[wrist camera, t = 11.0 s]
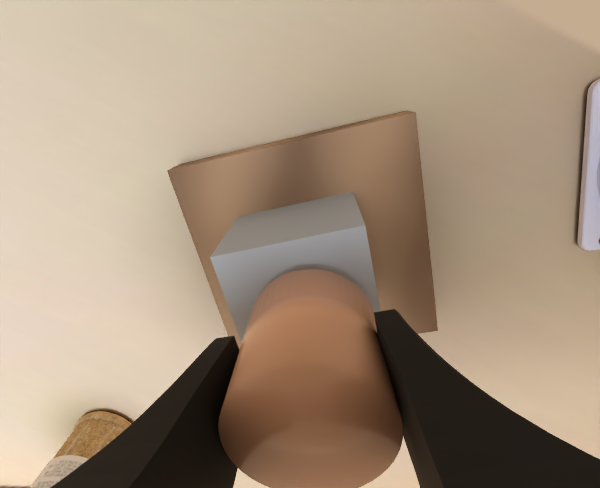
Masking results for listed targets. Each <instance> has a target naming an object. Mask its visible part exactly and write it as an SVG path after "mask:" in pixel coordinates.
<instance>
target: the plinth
mask: <svg viewBox="0 0 600 488" xmlns="http://www.w3.org/2000/svg"><path fill="white" fill-rule="evenodd" d="M168 174H169V177H170V180H171V182H172V185H173V188H174V190H175V193H176V196H177V198H178V201H179V204H180V207H181V209H182V212H183V215H184V217H185V220H186V223H187V225H188V228H189V231H190V233H191V236H192V239H193V242H194V244H195V247H196V250H197V252H198V255H199V258H200V260H201V263H202V266H203V269H204V271H205V274H206V277H207V279H208V282H209V285H210V287H211V290H212V293H213V296H214V298H215V301H216V304H217V306H218V309H219V312H220V314H221V317H222V320H223V323H224V325H225V328H226V331H227V333H228V336H235V339H236V342H237V345H238V347H239V350H240V347H241V344H242V343H241V340H240V337H239V335H238V332H237V329H236V327H235V324H234V321H233V318H232V316H231V313H230V310H229V308H228V305H227V302H226V299H225V297H224V294H223V291H222V289H221V286H220V283H219V280H218V278H217V275H216V272H215V270H214V267H213V264H212V261H211V259H210V257H211V255H212V254H213V252H214V251H215V249H216V248H217V246H218V245H219V243H220V242H221V240H222V239H223V237H224V236H225V234H226V233H227V231H228V230H229V228H230V227H231V225H232V224H233V222H234V221H235V219H236V218H237V217H240V216H244V215H249V214H253V213H258V212H262V211H267V210H271V209H276V208H280V207H285V206H290V205H294V204H299V203H303V202H308V201H312V200H317V199H321V198H326V197H330V196H335V195H339V194H344V193H348V192H353V193H354V196H355V199H356V202H357V204H358V207H359V210H360V212H361V215H362V218H363V221H364V223H365V227H366V232H367V238H368V243H369V249H370V254H371V260H372V265H373V271H374V276H375V282H376V287H377V293H378V298H379V304H380V309H381V311H385V310H391V309H395V310H397V311H398V312H399V313H400V314H401V316H402V317H403V318H404V320H405V321H406V322H407V323H408V324H409V325H410V327H411V328H412V329H413V330H414V331H415V332H416V333H417V334H419V333H425V332H431V331H438V328H437V318H436V309H435V299H434V289H433V279H432V270H431V260H430V250H429V240H428V230H427V221H426V211H425V201H424V191H423V181H422V172H421V162H420V152H419V142H418V132H417V123H416V113H415V112H410V111H404V112H399V113H395V114H391V115H387V116H383V117H378V118H374V119H370V120H366V121H361V122H357V123H353V124H349V125H344V126H340V127H336V128H332V129H328V130H323V131H319V132H315V133H311V134H306V135H302V136H298V137H294V138H289V139H285V140H281V141H277V142H273V143H268V144H264V145H260V146H256V147H251V148H247V149H243V150H239V151H234V152H230V153H226V154H222V155H218V156H213V157H209V158H205V159H201V160H196V161H192V162H188V163H184V164H180V165H178V166H176V167H174V168H172V169H170V170H168Z"/></svg>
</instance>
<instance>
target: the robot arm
mask: <svg viewBox="0 0 600 488" xmlns="http://www.w3.org/2000/svg"><path fill="white" fill-rule="evenodd" d="M599 238H600V79H598V80H596V81H595V82H593V83H592V84H591V86H590V87H589V89H588V93H587V108H586V122H585V137H584V152H583V167H582V182H581V196H580V211H579V226H578V241H577V242H578V245H579V246H580V247H581V248H582V249H584V250H587V251H594V250H599V249H600V241H599ZM598 241H599V242H598ZM374 317H375V323H376V328H377V333H378V337H379V341H380V345H381V349H382V353H383V357H384V360H385V363H386V366H387V369H388V372H389V376H390V379H391V382H392V386H393V389H394V393H395V397H396V401H397V405H398V408H399V412H400V416H401V420H402V426H403V436H404V439H405V442H406V445H407V448H408V451H409V454H410V457H411V460H412V463H413V466H414V469H415V472H416V475H417V478H418V481H419V485H420V488H600V459H598V458H596V457H593V456H592V455H590V454H588V453H586V452H584V451H582V450H580V449H578V448H576V447H574V446H572V445H570V444H569V443H567V442H565V441H563V440H561V439H559V438H557V437H555V436H554V435H552V434H550V433H548V432H547V431H545V430H543V429H542V428H540V427H538V426H537V425H535V424H533V423H532V422H530V421H528V420H527V419H525V418H523V417H522V416H520V415H518V414H517V413H515V412H513V411H512V410H510V409H509V408H507V407H506V406H504V405H503V404H501V403H500V402H498V401H497V400H495V399H494V398H492V397H491V396H489V395H488V394H487V393H485V392H484V391H483V390H481V389H480V388H478V387H477V386H476V385H474V384H473V383H472V382H470V381H469V380H468V379H467V378H465V377H464V376H463V375H462V374H460V373H459V372H458V371H457V370H455V369H454V368H453V367H452V366H451V365H450V364H448V363H447V362H446V361H445V360H444V359H443V358H442V357H440V356H439V355H438V354H437V353H436V352H435V351H434V350H433V349H432V348H431V347H430V346H429V345H428V344H427V343H426V342H425V341H424V340H423V339H422V338H421V337H420V336H419V335H418V334H417V333H416V332H415V331H414V330H413V329H412V328H411V327H410V325H409V324H408V323H407V322H406V321H405V320H404V318H403V317H402V316H401V314H400V313H399V312H398V311H397V310H395V309H391V310H385V311H379V312H374ZM238 354H239V347H238V345H237V342H236V339H235V336H229V337H223V338H217V339H215V340H214V341H213V342H212V343H211V344H210V345H209V346H208V347H207V348H206V349H205V350H204V351H203V352H202V353H201V354H200V355H199V357H198V358H197V359H196V360H195V361H194V362H193V363H192V364H191V365H190V366H189V367H188V368H187V369H186V371H185V372H184V373H183V374H182V375H181V376H180V377H179V378H178V379H177V380H176V381H175V382H174V383H173V384H172V385H171V386H170V387H169V388H168V389H167V390H166V391H165V392H164V393H163V394H162V395H161V396H160V397H159V398H158V399H157V400H156V401H155V402H154V403H153V404H152V405H151V406H150V407H149V408H148V409H147V410H146V411H145V412H144V413H143V414H142V415H141V416H140V417H139V418H138V419H137V420H135V421H134V422H133V423H132V424H131V425H130V426H129V427H128V428H127V429H125V430H124V431H123V432H122V433H121V434H119V435H118V436H117V437H116V438H115V439H114V440H112V441H111V442H110V443H109V444H108V445H106V446H105V447H104V448H103V449H101V450H100V451H99V452H97V453H96V454H95V455H94V456H92V457H91V458H90V459H88V460H87V461H86V462H84V463H83V464H82V465H80V466H79V467H78V468H76V469H75V470H74V471H73V472H71V473H70V474H69V475H67V476H66V477H65V478H63V479H62V480H60V481H59V482H57V483H56V484H55V485H53V486H52V487H50V488H233V485H234V481H235V477H236V472H237V468H238V467H237V466H236V465H235V464H234V463H233V462H232V461H231V460H230V458H229V457H228V455H227V454H226V452H225V450H224V448H223V446H222V444H221V440H220V436H219V428H218V424H219V416H220V413H221V409H222V406H223V403H224V399H225V396H226V393H227V390H228V386H229V383H230V380H231V377H232V373H233V370H234V367H235V364H236V360H237V357H238Z"/></svg>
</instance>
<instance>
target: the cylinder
mask: <svg viewBox="0 0 600 488" xmlns="http://www.w3.org/2000/svg"><path fill="white" fill-rule="evenodd" d="M218 428H219V436H220V440H221V444H222V446H223V448H224V450H225V452H226V454H227V455H228V457H229V458H230V460H231V461H232V462H233V463H234V464H235V465H236V466H237V467H238V468H239V469H240V470H241V471H242V472H243V473H245V474H246V475H248V476H249V477H250V478H252V479H254V480H256V481H257V482H259V483H261V484H263V485H266V486H268V487H270V488H358V487H361V486H363V485H365V484H367V483H369V482H371V481H373V480H374V479H375V478H377V477H378V476H380V475H381V474H382V473H383V472H384V471H385V470H386V469H388V467H389V466H390V465H391V464H392V463H393V461H394V460H395V458H396V456H397V455H398V452H399V450H400V447H401V444H402V439H403V426H402V420H401V416H400V412H399V408H398V405H397V401H396V397H395V393H394V389H393V386H392V382H391V379H390V376H389V372H388V369H387V366H386V363H385V360H384V357H383V353H382V349H381V345H380V341H379V337H378V333H377V328H376V323H375V317H374V312H373V308H372V306H371V303H370V301H369V299H368V297H367V296H366V295H365V293H364V292H363V291H362V290H361V289H360V288H359V287H358V286H357V285H356V284H355V283H353V282H352V281H351V280H349V279H347V278H346V277H344V276H342V275H339V274H337V273H334V272H331V271H327V270H320V269H302V270H297V271H292V272H289V273H286V274H284V275H282V276H280V277H278V278H276V279H275V280H273V281H271V282H270V283H269V284H268V285H267V286H265V288H264V289H263V290H262V291H261V292H260V294H259V295H258V297H257V298H256V300H255V303H254V305H253V308H252V311H251V315H250V318H249V321H248V324H247V328H246V331H245V334H244V337H243V341H242V344H241V347H240V350H239V354H238V357H237V360H236V364H235V367H234V370H233V373H232V377H231V380H230V383H229V386H228V390H227V393H226V396H225V399H224V403H223V406H222V409H221V413H220V416H219V424H218Z"/></svg>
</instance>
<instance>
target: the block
mask: <svg viewBox="0 0 600 488" xmlns="http://www.w3.org/2000/svg"><path fill="white" fill-rule="evenodd" d="M210 259H211V261H212V264H213V267H214V270H215V272H216V275H217V278H218V280H219V283H220V286H221V289H222V291H223V294H224V297H225V299H226V302H227V305H228V308H229V310H230V313H231V316H232V318H233V321H234V324H235V327H236V329H237V332H238V335H239V337H240V340H241V343H242V341H243V337H244V334H245V331H246V328H247V324H248V321H249V318H250V315H251V311H252V308H253V305H254V303H255V300H256V298H257V297H258V295H259V294H260V292H261V291H262V290H263V289H264V288H265V286H267V285H268V284H269V283H270V282H271V281H273V280H275V279H276V278H278V277H280V276H282V275H284V274H286V273H289V272H292V271H297V270H302V269H320V270H327V271H331V272H334V273H337V274H339V275H342V276H344V277H346V278H347V279H349V280H351V281H352V282H353V283H355V284H356V285H357V286H358V287H359V288H360V289H361V290H362V291H363V292H364V293H365V295H366V296H367V297H368V299H369V301H370V303H371V306H372V308H373V312H379V311H381V309H380V304H379V298H378V293H377V287H376V282H375V276H374V271H373V265H372V260H371V254H370V249H369V243H368V238H367V232H366V227H365V223H364V221H363V218H362V215H361V212H360V210H359V207H358V204H357V202H356V199H355V196H354V193H353V192H348V193H344V194H339V195H335V196H330V197H326V198H321V199H317V200H312V201H308V202H303V203H299V204H294V205H290V206H285V207H280V208H276V209H271V210H267V211H262V212H258V213H253V214H249V215H244V216H240V217H237V218H236V219H235V221H234V222H233V224H232V225H231V227H230V228H229V230H228V231H227V233H226V234H225V236H224V237H223V239H222V240H221V242H220V243H219V245H218V246H217V248H216V249H215V251H214V252H213V254H212V255H211V257H210Z"/></svg>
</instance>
